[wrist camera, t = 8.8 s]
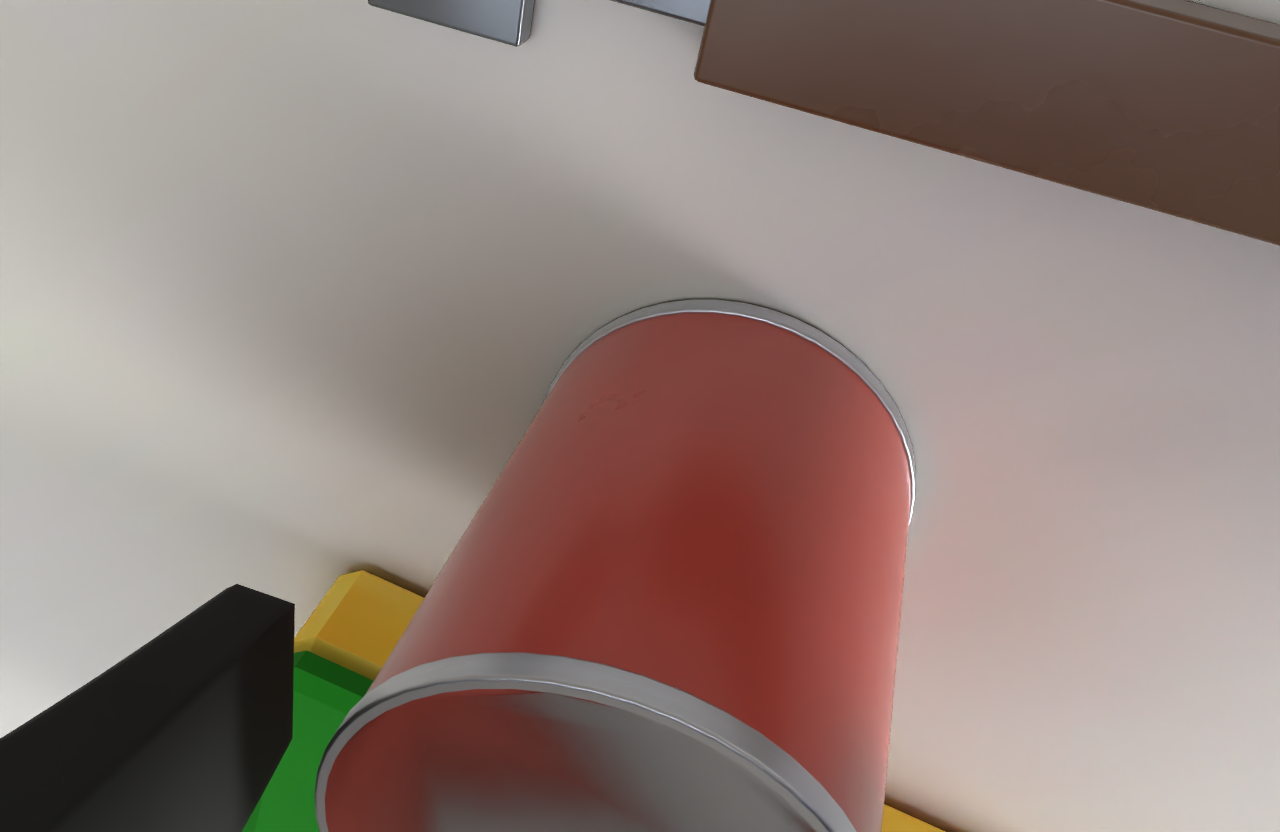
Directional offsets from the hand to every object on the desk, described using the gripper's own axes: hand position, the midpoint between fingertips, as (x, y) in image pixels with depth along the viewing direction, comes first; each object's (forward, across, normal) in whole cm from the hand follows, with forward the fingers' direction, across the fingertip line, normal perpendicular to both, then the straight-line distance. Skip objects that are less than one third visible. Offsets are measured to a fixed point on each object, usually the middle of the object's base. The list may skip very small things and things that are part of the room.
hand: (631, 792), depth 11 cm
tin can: (+5, 0, 0) cm, 5 cm away
